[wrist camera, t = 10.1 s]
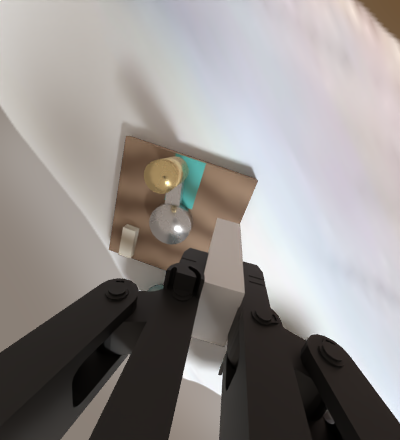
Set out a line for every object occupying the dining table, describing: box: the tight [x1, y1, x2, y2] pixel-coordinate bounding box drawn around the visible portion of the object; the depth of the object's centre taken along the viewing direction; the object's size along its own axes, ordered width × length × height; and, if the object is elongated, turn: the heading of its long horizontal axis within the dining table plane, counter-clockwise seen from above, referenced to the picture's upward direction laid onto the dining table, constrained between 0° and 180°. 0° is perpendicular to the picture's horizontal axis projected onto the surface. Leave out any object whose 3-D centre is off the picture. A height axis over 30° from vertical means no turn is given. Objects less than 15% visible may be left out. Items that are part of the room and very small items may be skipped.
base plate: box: [109, 136, 258, 271], centre depth 36 cm, size 22×22×4 cm
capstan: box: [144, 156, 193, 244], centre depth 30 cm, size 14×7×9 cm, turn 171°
